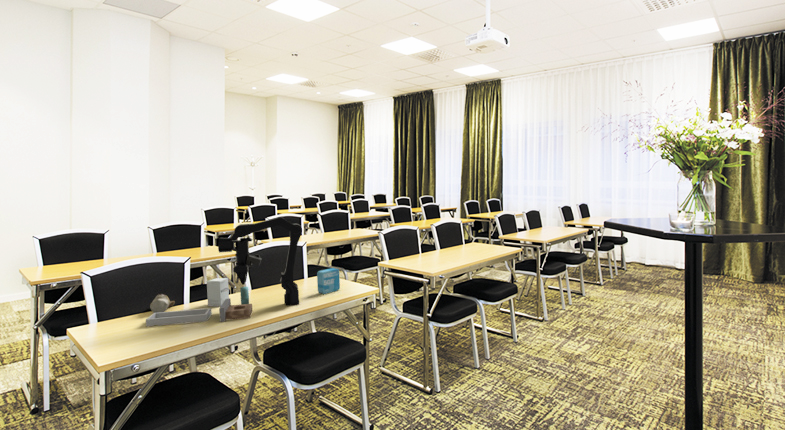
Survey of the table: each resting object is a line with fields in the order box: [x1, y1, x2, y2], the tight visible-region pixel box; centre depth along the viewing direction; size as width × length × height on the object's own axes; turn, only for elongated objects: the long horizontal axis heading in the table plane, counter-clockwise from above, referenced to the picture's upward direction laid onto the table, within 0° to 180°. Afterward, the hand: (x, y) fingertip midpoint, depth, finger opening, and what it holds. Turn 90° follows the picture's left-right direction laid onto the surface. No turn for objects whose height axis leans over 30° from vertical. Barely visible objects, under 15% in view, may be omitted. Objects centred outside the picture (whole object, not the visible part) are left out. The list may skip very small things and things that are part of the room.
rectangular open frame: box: [145, 307, 213, 327], centre depth 184 cm, size 24×10×3 cm, turn 102°
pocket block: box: [226, 303, 254, 321], centre depth 189 cm, size 10×10×4 cm
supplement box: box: [206, 277, 230, 308], centre depth 208 cm, size 7×7×13 cm
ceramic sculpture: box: [149, 293, 176, 313], centre depth 201 cm, size 11×9×15 cm
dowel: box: [239, 286, 250, 305], centre depth 200 cm, size 4×4×10 cm
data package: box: [316, 267, 341, 295], centre depth 227 cm, size 12×4×12 cm, turn 139°
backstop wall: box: [218, 298, 232, 323], centre depth 188 cm, size 2×16×6 cm, turn 12°
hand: (244, 283), depth 200 cm, fingers open, 5 cm apart
